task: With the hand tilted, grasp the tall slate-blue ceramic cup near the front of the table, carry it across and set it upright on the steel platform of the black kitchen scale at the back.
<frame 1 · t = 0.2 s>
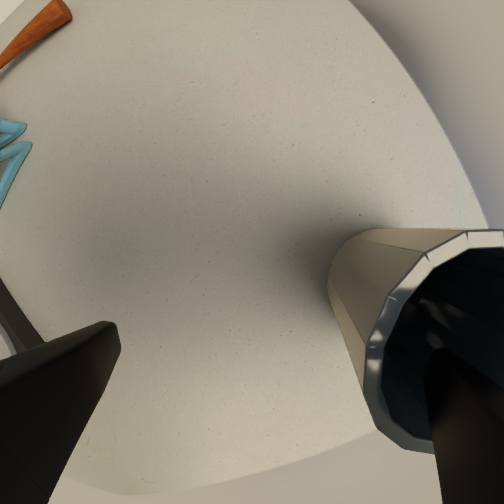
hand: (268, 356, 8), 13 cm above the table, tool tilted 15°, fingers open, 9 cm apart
kendama: (9, 76, 24), on the table
cup: (378, 281, 20), on the table
chair: (6, 162, 24), on the table
scale: (7, 357, 25), on the table
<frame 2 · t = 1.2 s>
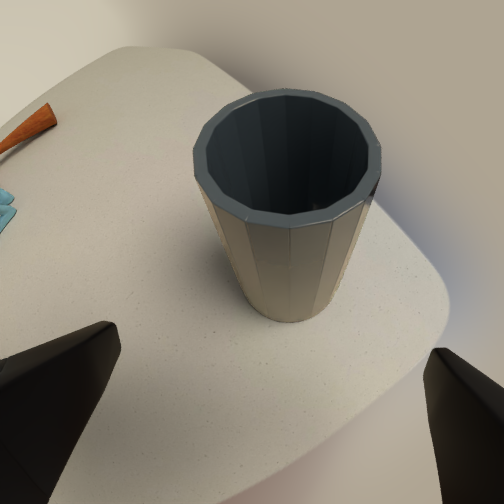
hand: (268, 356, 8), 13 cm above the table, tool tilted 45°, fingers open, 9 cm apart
kendama: (4, 164, 34), on the table
cup: (289, 275, 23), on the table
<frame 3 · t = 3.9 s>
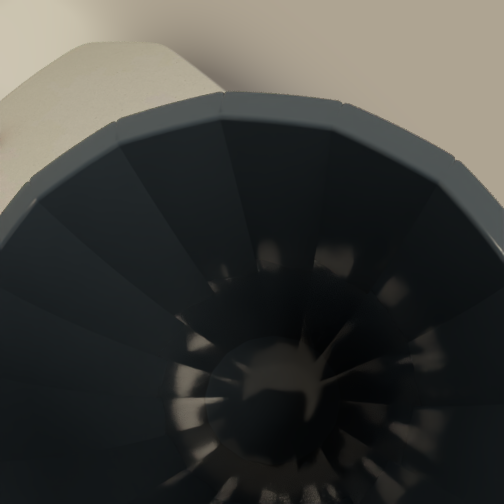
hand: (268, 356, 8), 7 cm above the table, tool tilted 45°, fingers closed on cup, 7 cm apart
cup: (273, 400, 14), on the table, touching gripper
when the fingers open (10 cm above the table, at t = 12.4 s): cup stays where it is, resting on scale.
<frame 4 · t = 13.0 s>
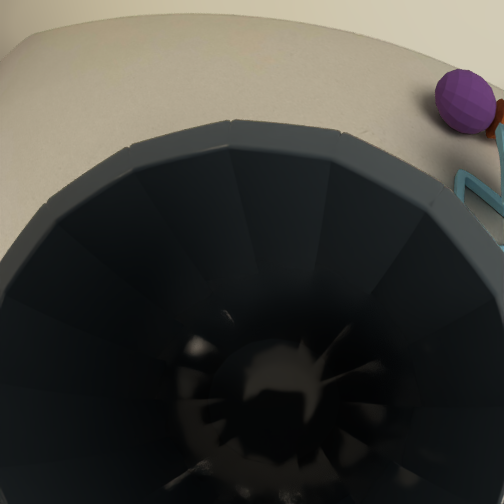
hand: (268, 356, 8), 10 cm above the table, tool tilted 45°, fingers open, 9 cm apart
cup: (274, 401, 14), point 3 cm above the table, touching scale
chair: (493, 231, 20), on the table
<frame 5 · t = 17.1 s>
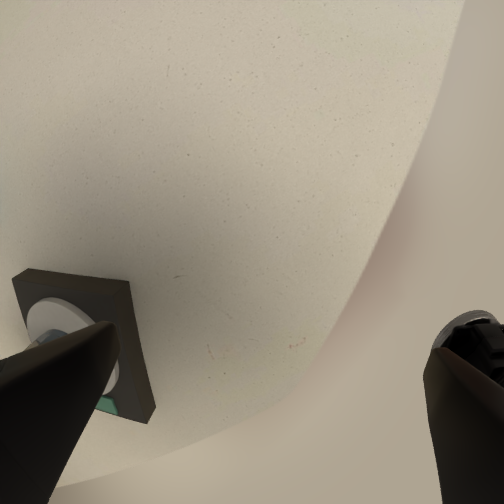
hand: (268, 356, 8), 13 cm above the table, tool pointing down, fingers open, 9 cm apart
cup: (69, 361, 24), point 3 cm above the table, touching scale
scale: (88, 341, 27), on the table
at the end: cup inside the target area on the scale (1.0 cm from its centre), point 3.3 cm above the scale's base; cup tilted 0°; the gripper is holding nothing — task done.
